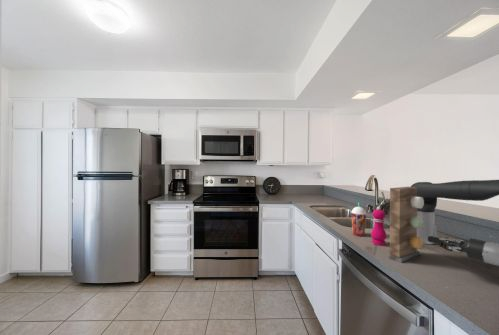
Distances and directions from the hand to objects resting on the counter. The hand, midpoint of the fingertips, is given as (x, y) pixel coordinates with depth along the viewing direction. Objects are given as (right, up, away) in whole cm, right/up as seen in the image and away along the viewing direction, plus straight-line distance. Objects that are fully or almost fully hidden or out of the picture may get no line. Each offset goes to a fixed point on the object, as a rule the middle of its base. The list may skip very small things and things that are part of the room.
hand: (428, 238), depth 92 cm
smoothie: (-10, -11, +39) cm, 42 cm away
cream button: (-2, +12, +4) cm, 13 cm away
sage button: (-2, +3, +4) cm, 5 cm away
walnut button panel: (-5, -11, +8) cm, 14 cm away
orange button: (-2, -6, +4) cm, 7 cm away
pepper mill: (-7, -11, +25) cm, 28 cm away
